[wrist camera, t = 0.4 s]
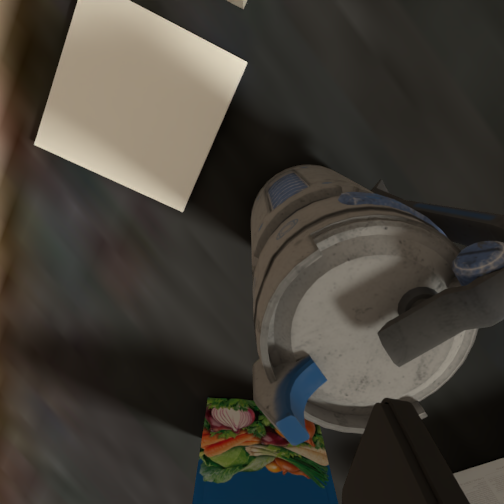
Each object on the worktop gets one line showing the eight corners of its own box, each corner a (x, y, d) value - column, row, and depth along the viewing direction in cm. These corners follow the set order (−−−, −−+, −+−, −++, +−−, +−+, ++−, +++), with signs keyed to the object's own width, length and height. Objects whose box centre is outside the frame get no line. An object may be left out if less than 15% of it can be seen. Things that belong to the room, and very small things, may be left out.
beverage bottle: (398, 217, 38) (649, 373, 14) (281, 289, 40) (330, 529, 16) (345, 124, 35) (545, 127, 12) (223, 207, 38) (181, 350, 14)
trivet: (88, -20, 32) (84, -24, 31) (247, 63, 34) (247, 61, 33) (38, 144, 36) (34, 144, 35) (183, 210, 38) (182, 212, 37)
